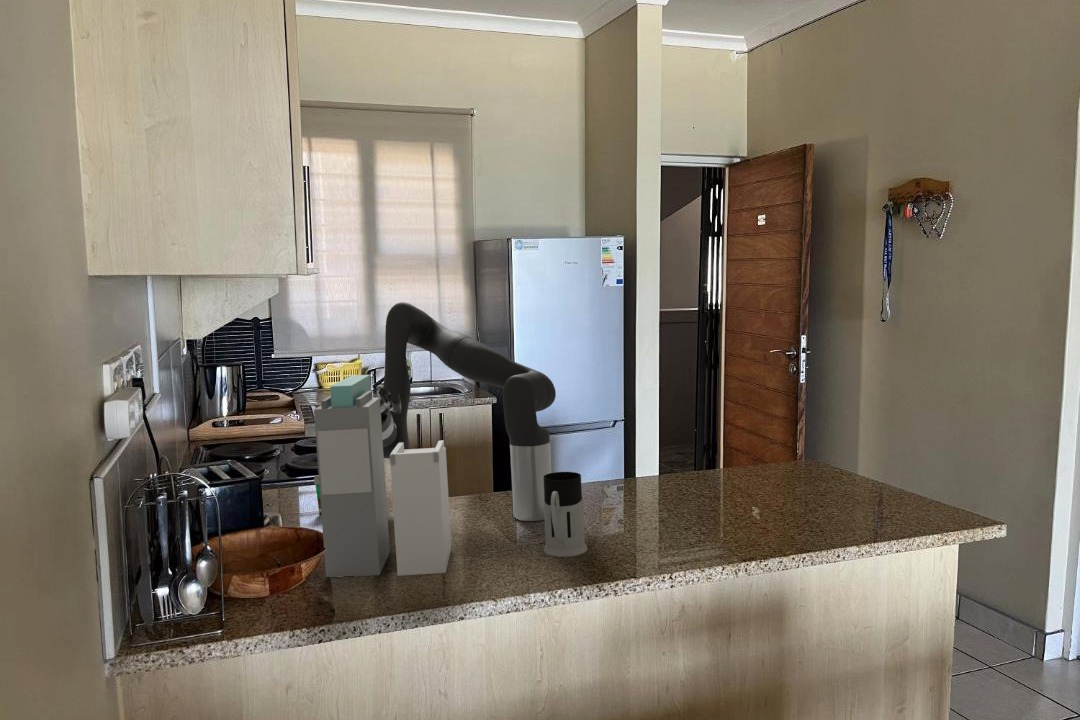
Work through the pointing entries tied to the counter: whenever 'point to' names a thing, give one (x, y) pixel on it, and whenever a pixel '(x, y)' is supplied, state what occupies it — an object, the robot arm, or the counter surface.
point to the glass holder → (564, 514)
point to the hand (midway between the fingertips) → (361, 391)
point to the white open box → (420, 509)
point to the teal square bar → (349, 390)
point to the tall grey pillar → (352, 487)
